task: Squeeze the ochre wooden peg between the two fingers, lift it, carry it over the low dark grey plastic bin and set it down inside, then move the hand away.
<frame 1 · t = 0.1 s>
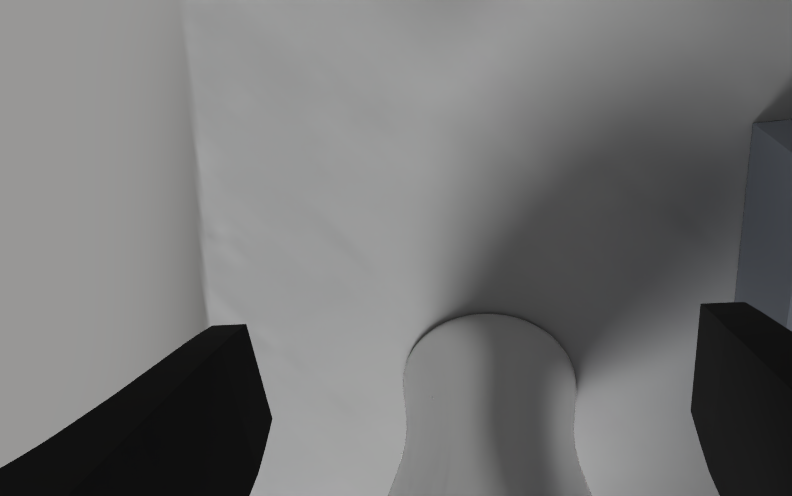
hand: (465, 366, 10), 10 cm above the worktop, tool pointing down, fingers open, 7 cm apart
beer glass: (487, 379, 23), on the worktop
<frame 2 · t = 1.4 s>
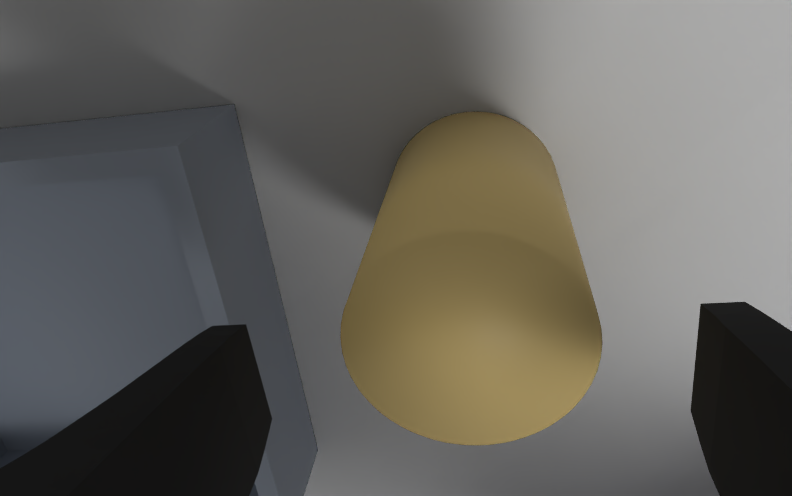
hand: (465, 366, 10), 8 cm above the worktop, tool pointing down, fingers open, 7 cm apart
bin: (101, 309, 20), on the worktop
peg: (473, 193, 17), on the worktop
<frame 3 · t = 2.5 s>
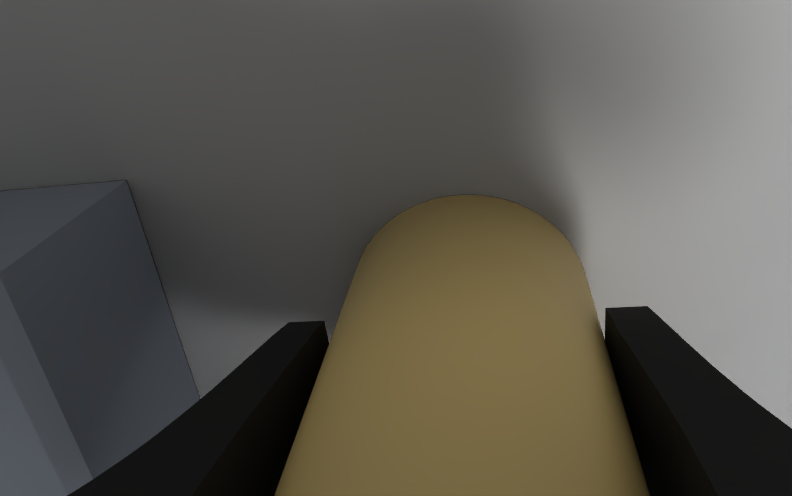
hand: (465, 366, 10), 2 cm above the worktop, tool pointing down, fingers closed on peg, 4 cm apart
peg: (467, 303, 12), on the worktop, touching gripper
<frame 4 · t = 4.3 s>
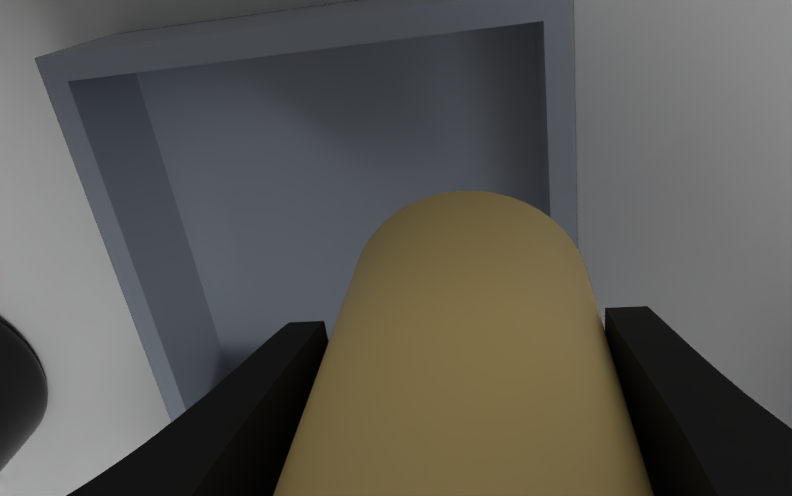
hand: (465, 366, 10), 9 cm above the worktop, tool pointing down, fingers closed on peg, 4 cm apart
bin: (358, 214, 19), on the worktop
peg: (468, 299, 12), point 7 cm above the worktop, touching gripper
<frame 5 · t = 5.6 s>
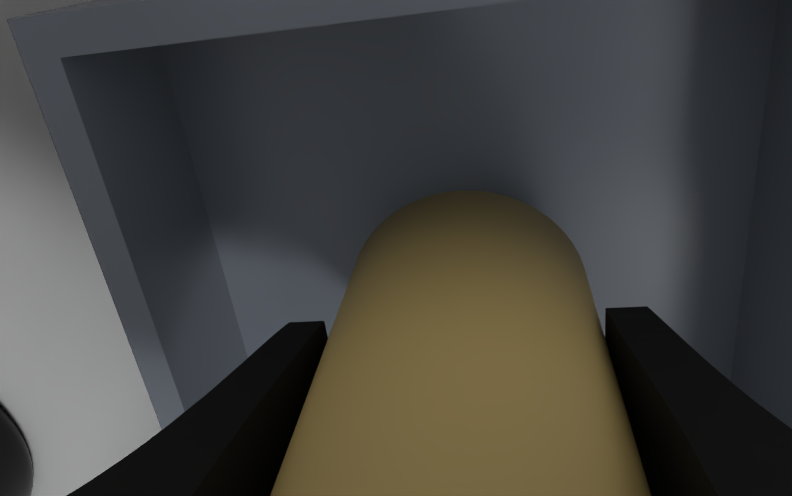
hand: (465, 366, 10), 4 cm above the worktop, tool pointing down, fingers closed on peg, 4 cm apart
bin: (469, 254, 14), on the worktop
peg: (467, 299, 12), point 2 cm above the worktop, touching gripper
when the fingers open (4 cm above the worktop, at t = 6.4 s): peg drops 1 cm, resting on bin.
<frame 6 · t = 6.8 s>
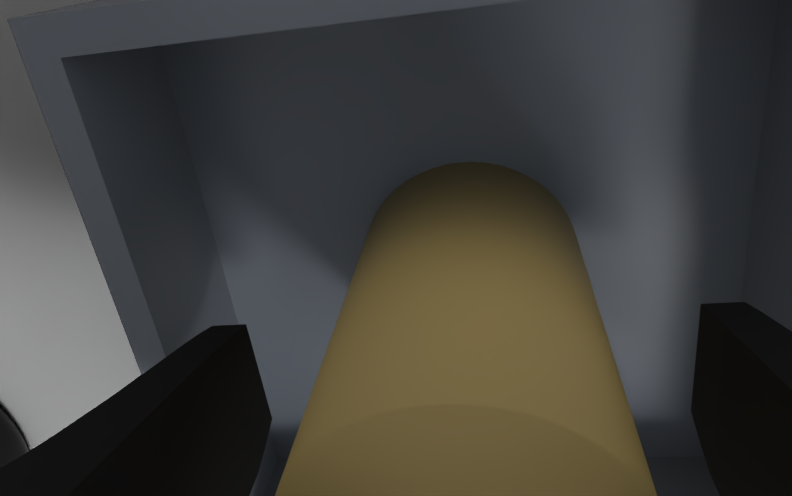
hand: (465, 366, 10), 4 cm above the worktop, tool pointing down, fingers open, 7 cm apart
bin: (469, 254, 14), on the worktop
peg: (469, 262, 13), point 1 cm above the worktop, touching bin
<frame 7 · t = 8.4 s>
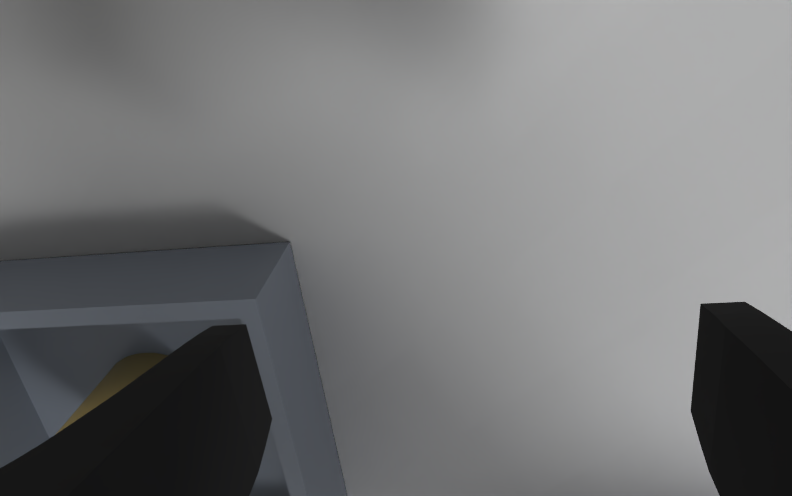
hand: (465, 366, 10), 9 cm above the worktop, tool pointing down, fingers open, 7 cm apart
bin: (169, 394, 24), on the worktop
peg: (163, 401, 24), point 1 cm above the worktop, touching bin
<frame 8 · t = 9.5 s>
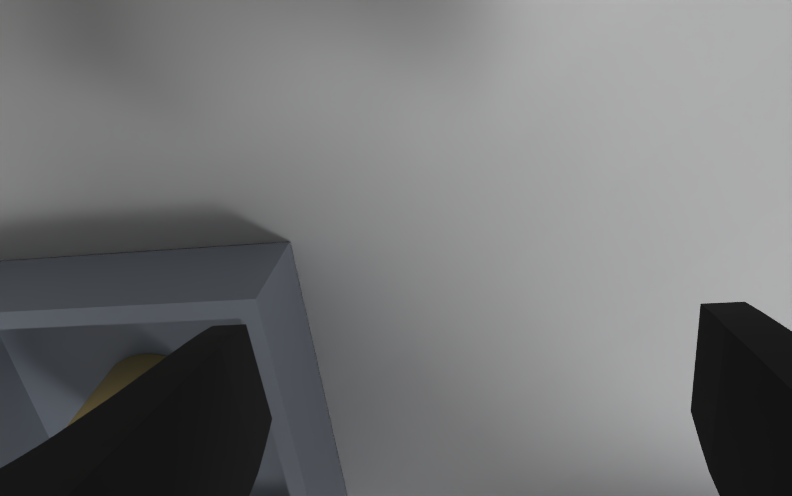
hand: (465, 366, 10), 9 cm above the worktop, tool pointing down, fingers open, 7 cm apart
bin: (169, 394, 24), on the worktop
peg: (163, 402, 24), point 1 cm above the worktop, touching bin
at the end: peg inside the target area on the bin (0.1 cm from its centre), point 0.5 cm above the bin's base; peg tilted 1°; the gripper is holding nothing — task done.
